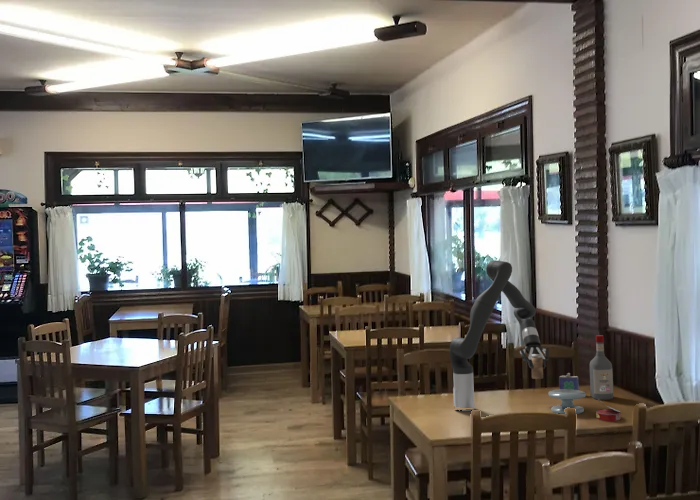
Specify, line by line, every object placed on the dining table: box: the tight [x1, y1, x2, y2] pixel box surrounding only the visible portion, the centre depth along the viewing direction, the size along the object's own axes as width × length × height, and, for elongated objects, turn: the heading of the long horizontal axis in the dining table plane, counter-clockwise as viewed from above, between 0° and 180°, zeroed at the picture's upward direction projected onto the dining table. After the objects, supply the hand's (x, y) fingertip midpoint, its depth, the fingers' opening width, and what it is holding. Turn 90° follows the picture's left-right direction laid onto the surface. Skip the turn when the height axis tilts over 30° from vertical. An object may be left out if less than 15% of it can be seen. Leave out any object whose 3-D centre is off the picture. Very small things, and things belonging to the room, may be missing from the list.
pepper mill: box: [531, 353, 544, 380], centre depth 330 cm, size 5×5×11 cm
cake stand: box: [548, 388, 586, 415], centre depth 315 cm, size 16×16×8 cm
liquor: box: [589, 334, 614, 401], centre depth 336 cm, size 9×9×30 cm
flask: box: [558, 372, 580, 390], centre depth 345 cm, size 9×3×11 cm, turn 78°
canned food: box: [595, 399, 621, 422], centre depth 300 cm, size 11×10×10 cm
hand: (538, 367), depth 328 cm, fingers closed on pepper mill, 5 cm apart
